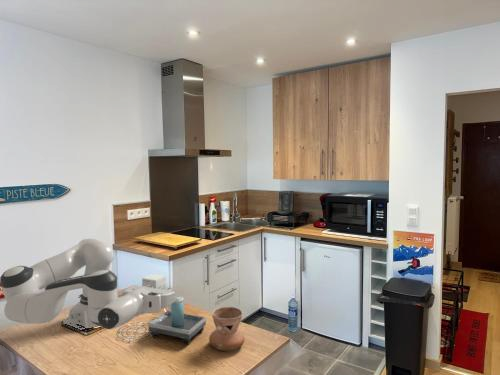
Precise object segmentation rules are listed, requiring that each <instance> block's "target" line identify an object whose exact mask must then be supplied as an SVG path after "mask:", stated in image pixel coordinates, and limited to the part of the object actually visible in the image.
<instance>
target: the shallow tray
mask: <svg viewBox="0 0 500 375" xmlns="http://www.w3.org/2000/svg"><path fill="white" fill-rule="evenodd" d="M206 321H207V318H206V317H205V316H202V315H201V316H200V315H196V314H189V313H184V324H183V325H181V326H173V325H172V316H171V311H169V309H168V310H166V312H164V311H163V313H161V314H160V315H159V316H157V317H156V318H154V319H152V320H151V321H150V322H148V331H149V332H151V334H150V335H151V337H152V338H157V337H159V335H161V334H162V335H167V336H171V337H175V338H176V337H177V338H180V339H183V343H184V344H185V345H189V344H191V342H192V338H193V337H194V336H195V335H196V334H197V333H202V332H203V331H204V328H205V326H206V324H207V322H206Z"/></svg>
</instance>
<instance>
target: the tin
mask: <svg viewBox="0 0 500 375" xmlns="http://www.w3.org/2000/svg"><path fill="white" fill-rule="evenodd" d="M184 301H185V300H184V297H183V296H175V301H174V302H173V303H172V304H171V316H172V325H173V326H181V325H183V324H184V310H185V308H184Z"/></svg>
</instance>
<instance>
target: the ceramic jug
mask: <svg viewBox="0 0 500 375" xmlns="http://www.w3.org/2000/svg"><path fill="white" fill-rule="evenodd" d="M211 315H212V320H213V324H214V326H215V329H214V330H213V331H212V332H211V333H210V334H209V337H208V338H209V339H208V340H209V343H210V345H211V347H212V348H214V349H215V350H218V351H222V352H231V351H234V350H237V349H240V348H241V347H242V346H243V345H244V343H245V341H246V340H245V335H244V332H242V331H241V330H239V329H238V328H239V327H240V323H241V322H242V318H243V311H242V310H241V309H240V308H238V307H234V306H220V307H217V308H215V309H214V310H213V311H212V314H211Z"/></svg>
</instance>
